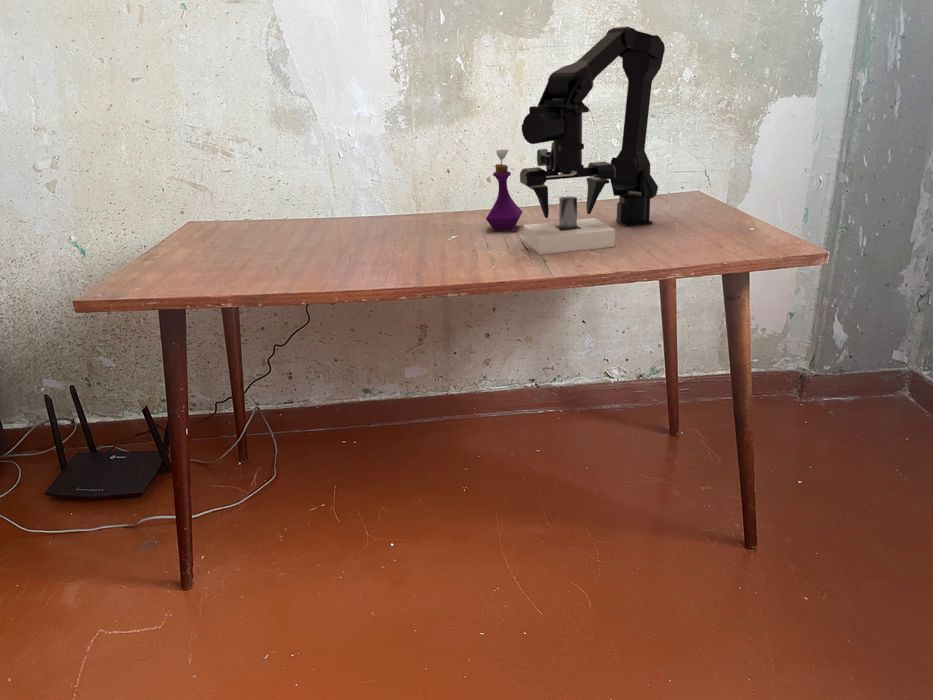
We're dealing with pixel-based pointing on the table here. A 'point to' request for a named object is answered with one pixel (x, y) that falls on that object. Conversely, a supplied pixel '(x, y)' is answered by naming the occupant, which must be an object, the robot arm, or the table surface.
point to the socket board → (569, 236)
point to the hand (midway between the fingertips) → (567, 215)
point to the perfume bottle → (503, 201)
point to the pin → (567, 213)
